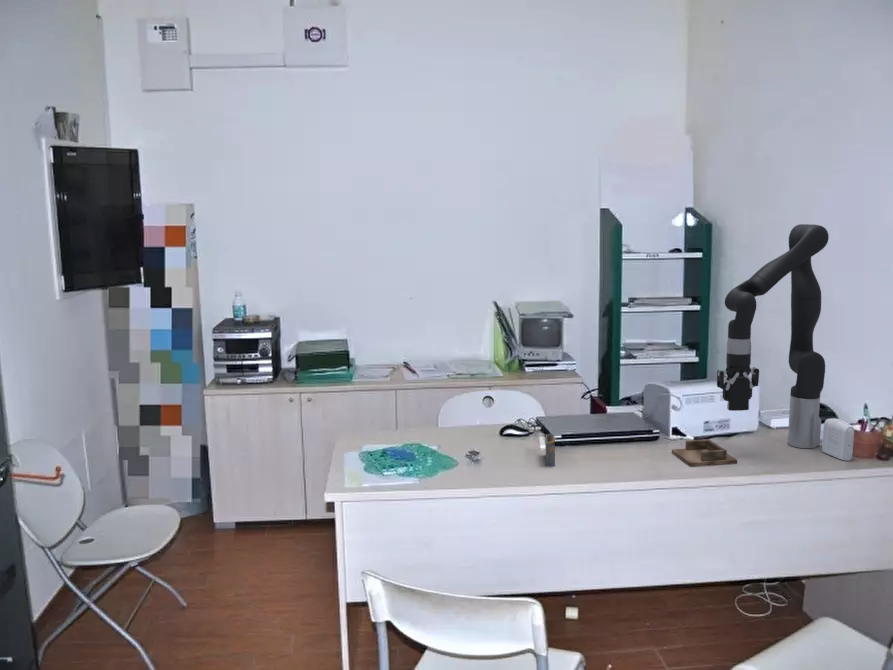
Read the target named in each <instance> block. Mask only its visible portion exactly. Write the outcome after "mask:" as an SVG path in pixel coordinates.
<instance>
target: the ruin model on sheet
mask: <svg viewBox="0 0 893 670" xmlns="http://www.w3.org/2000/svg"><path fill="white" fill-rule="evenodd" d="M554 435H555V434H545V460H546V467H547V466H548V467H549V466H551V467H553V466H555V467H556V459H555V458H556V445H555V444H556V443H555V442H556V441H557V437H556V436H554ZM553 468H554V467H553Z"/></svg>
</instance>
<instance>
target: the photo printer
mask: <svg viewBox="0 0 893 670" xmlns="http://www.w3.org/2000/svg"><path fill="white" fill-rule="evenodd" d="M822 432H823V435H822V447H821V448H822V449H821V450H822V451H821V452H823V453H824V454H827V455H829V456H831V457H833V458H836V459H839V460H842V461H845V462H848V461H851V460H852V459H853V454H854V453H853V450H854V440H855V429H854V427H853V425H851V424H850V423H848V422H846V421H844V420H843V419H840V418H835V417H834V418H827V419H825V421H824V423H823V431H822Z"/></svg>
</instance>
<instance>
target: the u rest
mask: <svg viewBox="0 0 893 670" xmlns="http://www.w3.org/2000/svg"><path fill="white" fill-rule="evenodd" d="M684 447H685V448H676V449H675V448H674V449H673V448H672V449H671V454H672V455H674V456H675V457H676V458H677V459H679V460H681V461H682V462H683V463H685V464H686V465H687V466H689V468H693V467H706V466H718V465H720V466H721V465H732V464H734V465H735V464H738V459H736V458H735V457H733V456H732V455H730V454H729V453H728V451H727V450H726V449H725V448H723V447H722V446H720V445H719V444H717V443H715V442H714V441H712V440H711V439H705V438H704V439H695V440H691V439H690V440H685V446H684Z"/></svg>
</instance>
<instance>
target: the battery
mask: <svg viewBox="0 0 893 670" xmlns="http://www.w3.org/2000/svg"><path fill="white" fill-rule="evenodd" d="M749 379H750V378H749ZM749 379H748V378H745V377H737V378H736V380H735V381H734V383H733V384H732V385H731V384H730V388H729V401H727V405H726V407H727V410H728V411H731V412H732V411H733V412H734V411H741V412H742V411H749V410H750V399H749V395H750V380H751V379H750V380H749ZM730 380H731V378H728V381H730Z"/></svg>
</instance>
